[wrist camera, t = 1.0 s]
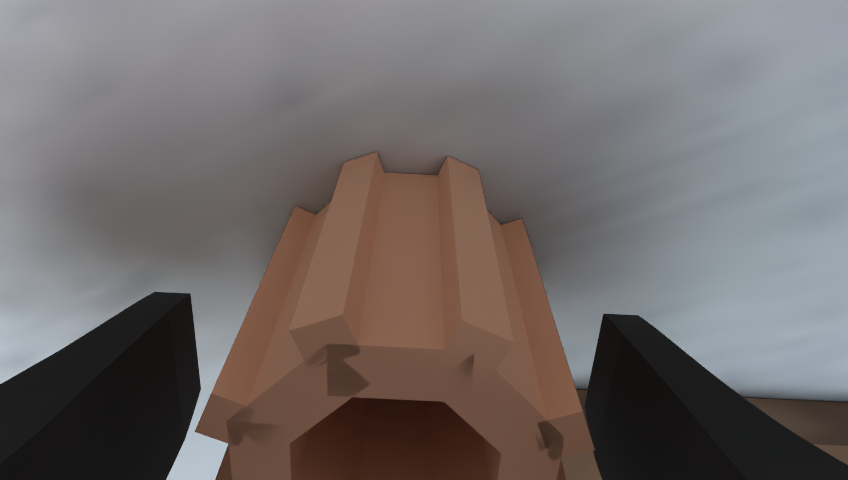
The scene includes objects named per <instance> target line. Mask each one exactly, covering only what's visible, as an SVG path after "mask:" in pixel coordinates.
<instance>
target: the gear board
mask: <svg viewBox="0 0 848 480" xmlns="http://www.w3.org/2000/svg"><path fill="white" fill-rule="evenodd" d="M576 391H577V394H578V398H579V401H580V404H581V407H582V410H583V414H584V417H585V420H586V423H587V417H586V412H585V407H584V405H585V401H586V396H587V391H588V390H577V389H576ZM745 399H746V400H747V401H749V402H750V403H752V404H753V405H754V406H756V407H757V408H759V409H760V410H761V411H763V412H764V413H766V414H767V415H769V416H770V417H771V418H773V419H774V420H776V421H777V422H779V423H780V424H782V425H783V426H785V427H786V428H788V429H789V430H791V431H792V432H794V433H795V434H797V435H798V436H800V437H802V438H803V439H805V440H807V441H808V442H810V443H812V444H813V445H815V446H817V447H818V448H820V449H821V450H823V451H825V452H826V453H828V454H830V455H831V456H833V457H835V458H836V459H838V460H840V461H841V462H843V463H845V464H847V465H848V403H842V402H822V401H802V400H781V399H761V398H745ZM587 427H588V423H587ZM588 430H589V428H588ZM561 460H562V465H563V469H564V473H565V477H566V480H602V478H601V475H600V472H599V469H598V466H597V463H596V460H595V457H594V452H593V451H591V452H587V453H583V454H579V455H575V456H571V457H567V458H563V459H561Z"/></svg>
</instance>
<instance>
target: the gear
mask: <svg viewBox="0 0 848 480" xmlns="http://www.w3.org/2000/svg"><path fill="white" fill-rule="evenodd" d="M195 432H197V433H200V434H203V435H206V436H209V437H211V438H214V439H217V440H220V441H223V442H226V443H229V444H228V447H227V450H226V452H225V455H224V458H223V460H222V463H221V466H220V468H219V471H218V474H217V477H216V479H215V480H566V477H565V473H564V469H563V465H562V460H561V459H563V458H567V457H571V456H575V455H579V454H583V453H587V452H591V451H594V450H595V449H594V446H593V443H592V440H591V436H590V433H589V430H588V427H587V423H586V420H585V417H584V414H583V410H582V407H581V404H580V401H579V398H578V394H577V391H576V388H575V385H574V382H573V379H572V375H571V372H570V369H569V366H568V363H567V359H566V356H565V353H564V350H563V347H562V343H561V340H560V337H559V334H558V331H557V327H556V324H555V321H554V318H553V315H552V312H551V308H550V305H549V302H548V299H547V296H546V292H545V289H544V286H543V283H542V280H541V276H540V273H539V270H538V267H537V264H536V260H535V257H534V254H533V251H532V248H531V245H530V241H529V238H528V235H527V232H526V229H525V225H524V222H523V219H522V218H521V219H518V220H515V221H512V222H508V223H505V224H502V225H501V224H500V223H499V222H498V221H497V220H496V219H495V218H494V217H493V216H492V215H491V214H490V212H489V211H488V210H487V208H486V203H485V198H484V193H483V188H482V183H481V179H480V174H479V170H478V169H475V168H473V167H471V166H469V165H467V164H465V163H463V162H460V161H458V160H456V159H454V158H452V157H450V156H447V158H446V160H445V162H444V164H443V166H442V167H441V169H440V171H439V173H438V175H424V174H406V173H388V172H384V169H383V167H382V164H381V162H380V159H379V157H378V154H377V152H374V153H371V154H368V155H365V156H362V157H359V158H356V159H353V160H350V161H347V162H344V164H343V167H342V170H341V173H340V176H339V179H338V182H337V185H336V188H335V191H334V194H333V197H332V200H331V202H330V203H329V204H328V205H326V206H325V207H324V208H323V209H322V210H321V211H320V212H318V213H317V214H316V215H315V214H313V213H311V212H308V211H306V210H304V209H301V208H299V207H297V206H295V207H294V209H293V211H292V214H291V216H290V218H289V220H288V223H287V225H286V227H285V229H284V231H283V234H282V236H281V238H280V240H279V243H278V245H277V247H276V249H275V252H274V254H273V256H272V258H271V261H270V263H269V265H268V267H267V270H266V272H265V274H264V276H263V279H262V281H261V283H260V285H259V288H258V290H257V292H256V294H255V297H254V299H253V301H252V303H251V306H250V308H249V310H248V312H247V314H246V317H245V319H244V321H243V323H242V326H241V328H240V330H239V332H238V335H237V337H236V339H235V341H234V344H233V346H232V348H231V350H230V353H229V355H228V357H227V359H226V362H225V364H224V366H223V368H222V371H221V373H220V375H219V377H218V380H217V382H216V384H215V386H214V389H213V391H212V393H211V395H210V398H209V400H208V402H207V405H206V407H205V409H204V411H203V414H202V416H201V418H200V421H199V423H198V425H197V428H196V430H195Z"/></svg>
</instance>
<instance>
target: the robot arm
mask: <svg viewBox="0 0 848 480" xmlns="http://www.w3.org/2000/svg"><path fill="white" fill-rule="evenodd" d="M200 390H201V386H200V377H199V368H198V359H197V349H196V340H195V331H194V322H193V313H192V304H191V295H190V294H186V293H165V292H154V293H152V294H150V295H148V296H146V297H145V298H143V299H141V300H140V301H138V302H136V303H135V304H133V305H131V306H130V307H128V308H127V309H125V310H123V311H122V312H120V313H119V314H117V315H116V316H114V317H112V318H111V319H109V320H108V321H106V322H105V323H103V324H101V325H100V326H98V327H97V328H95V329H93V330H92V331H90V332H89V333H87V334H85V335H84V336H82V337H81V338H79V339H77V340H76V341H74V342H73V343H71V344H69V345H68V346H66V347H65V348H63V349H61V350H60V351H58V352H56V353H54V354H53V355H51V356H49V357H47V358H46V359H44V360H42V361H40V362H39V363H37V364H35V365H33V366H32V367H30V368H28V369H26V370H25V371H23V372H21V373H19V374H18V375H16V376H14V377H12V378H11V379H9V380H7V381H5V382H3V383H2V384H0V480H166V478H167V476H168V474H169V472H170V470H171V468H172V466H173V464H174V462H175V459H176V457H177V455H178V453H179V451H180V449H181V447H182V444H183V442H184V440H185V437H186V434H187V431H188V428H189V425H190V422H191V419H192V416H193V413H194V410H195V406H196V403H197V400H198V397H199V393H200ZM584 407H585V412H586V417H587V423H588V428H589V433H590V436H591V440H592V443H593V446H594V449H595V450H594V451H593V452H594V457H595V460H596V463H597V466H598V469H599V472H600V475H601V478H602V480H848V465H847V464H845V463H843V462H841V461H840V460H838V459H836V458H835V457H833V456H831V455H830V454H828V453H826V452H825V451H823V450H821V449H820V448H818V447H817V446H815V445H813V444H812V443H810V442H808V441H807V440H805V439H803V438H802V437H800V436H798V435H797V434H795V433H794V432H792V431H791V430H789V429H788V428H786V427H785V426H783V425H782V424H780V423H779V422H777V421H776V420H774V419H773V418H771V417H770V416H769V415H767V414H766V413H764V412H763V411H761V410H760V409H759V408H757V407H756V406H754V405H753V404H752V403H750V402H749V401H747V400H746V399H745V398H743V397H742V396H740V395H739V394H738V393H736V392H735V391H734V390H732V389H731V388H730V387H728V386H727V385H726V384H725V383H723V382H722V381H721V380H719V379H718V378H717V377H715V376H714V375H713V374H712V373H710V372H709V371H708V370H707V369H705V368H704V367H703V366H702V365H700V364H699V363H698V362H697V361H695V360H694V359H693V358H692V357H690V356H689V355H688V354H687V353H685V352H684V351H683V350H682V349H681V348H679V347H678V346H677V345H676V344H674V343H673V342H672V341H671V340H670V339H668V338H667V337H666V336H665V335H663V334H662V333H661V332H660V331H658V330H657V329H656V328H655V327H653V326H652V325H651V324H649V323H648V322H647V321H645V320H644V319H642V318H641V317H640V316H638V315H618V314H603V319H602V323H601V328H600V333H599V338H598V343H597V348H596V352H595V357H594V362H593V367H592V372H591V377H590V381H589V386H588V391H587V396H586V401H585V405H584Z"/></svg>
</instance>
